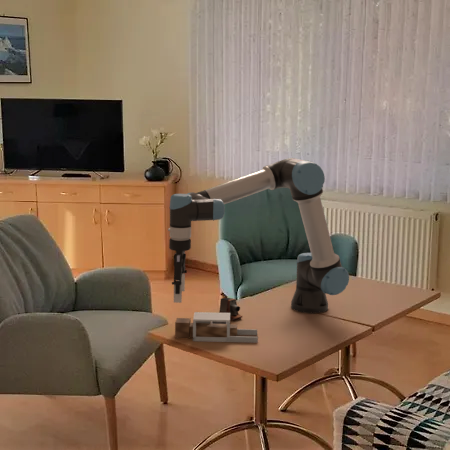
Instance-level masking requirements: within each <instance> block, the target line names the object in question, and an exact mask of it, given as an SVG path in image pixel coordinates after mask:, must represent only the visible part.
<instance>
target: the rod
mask: <svg viewBox="0 0 450 450" xmlns="http://www.w3.org/2000/svg"><path fill="white" fill-rule="evenodd" d="M237 329H238V324H236V323H235V324H234V323H230V336H238V335H237ZM189 337H191V338H190V339H193V338H192V337H193V322H191V324H190V334H189ZM196 337H227V324H212V323H196Z"/></svg>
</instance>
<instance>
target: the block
mask: <svg viewBox="0 0 450 450" xmlns="http://www.w3.org/2000/svg"><path fill="white" fill-rule="evenodd" d="M191 323H192V322H191V318H190V317H189V318H187V317H177V318H176V320H175V323H174V324H175V325H174V326H175V327H174V328H175V329H174V336H175V337H174V338H175V339H179V338H189V334H190V324H191ZM189 339H190V338H189Z"/></svg>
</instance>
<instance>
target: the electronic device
mask: <svg viewBox="0 0 450 450" xmlns="http://www.w3.org/2000/svg"><path fill="white" fill-rule="evenodd" d="M240 310H241V307H240V306H239V305H238V303H237V299H236V298H231V297H222V298H220V304H219V312H218V313H230V320H232V321H233V322H235V321H239V320H242V318H243V315H241V314H239V312H240Z"/></svg>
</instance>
